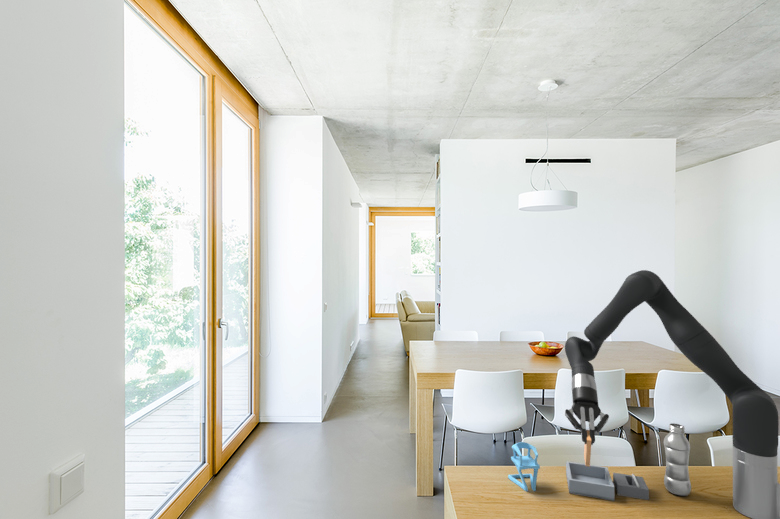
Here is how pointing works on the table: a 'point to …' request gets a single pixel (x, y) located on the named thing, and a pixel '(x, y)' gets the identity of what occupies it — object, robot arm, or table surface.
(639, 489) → the ticket dispenser
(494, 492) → the table surface
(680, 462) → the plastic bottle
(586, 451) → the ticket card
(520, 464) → the chair
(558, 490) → the table surface
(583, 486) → the tray
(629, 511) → the table surface
